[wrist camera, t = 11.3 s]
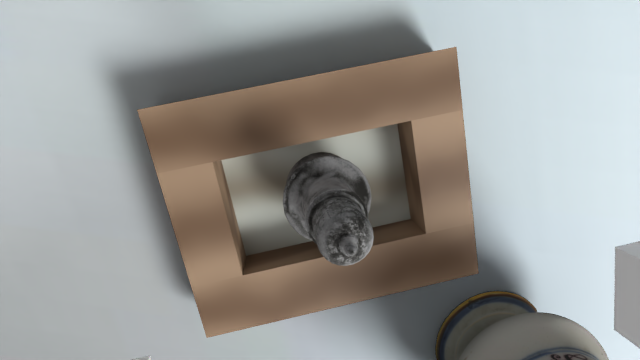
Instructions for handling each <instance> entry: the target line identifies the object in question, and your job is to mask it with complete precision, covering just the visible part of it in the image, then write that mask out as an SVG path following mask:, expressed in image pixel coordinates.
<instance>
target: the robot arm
mask: <svg viewBox="0 0 640 360" xmlns="http://www.w3.org/2000/svg"><path fill="white" fill-rule="evenodd" d="M614 330H615V331H617V332H618V333H619V334H621V335H622V336H623V337H625V338H626V339H628V340H629V341H630V342H632V343H633V344H634V345H636V346H637V347H638V348H640V241H639V242H635V243H630V244H626V245H622V246H618V247H615V300H614ZM132 360H152V359H151V356H150V355H149V356H145V357H141V358H137V359H132Z"/></svg>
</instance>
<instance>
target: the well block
mask: <svg viewBox="0 0 640 360" xmlns="http://www.w3.org/2000/svg"><path fill="white" fill-rule="evenodd" d="M137 111H138V114H139V117H140V121H141V124H142V127H143V130H144V134H145V137H146V140H147V144H148V147H149V150H150V153H151V157H152V160H153V163H154V166H155V170H156V173H157V176H158V180H159V183H160V186H161V189H162V193H163V196H164V199H165V203H166V206H167V209H168V212H169V216H170V219H171V222H172V225H173V229H174V232H175V235H176V239H177V242H178V245H179V248H180V252H181V255H182V258H183V261H184V265H185V268H186V271H187V275H188V278H189V281H190V284H191V288H192V291H193V294H194V297H195V301H196V304H197V307H198V311H199V314H200V317H201V320H202V324H203V327H204V330H205V333H206V337H207V338H208V337H212V336H216V335H221V334H225V333H229V332H233V331H237V330H242V329H246V328H250V327H254V326H259V325H263V324H267V323H271V322H276V321H280V320H284V319H288V318H292V317H297V316H301V315H305V314H309V313H314V312H318V311H322V310H326V309H330V308H335V307H339V306H343V305H347V304H352V303H356V302H360V301H364V300H368V299H373V298H377V297H381V296H385V295H390V294H394V293H398V292H402V291H406V290H411V289H415V288H419V287H423V286H428V285H432V284H436V283H440V282H445V281H449V280H453V279H457V278H461V277H466V276H470V275H474V274H478V273H479V271H478V261H477V251H476V241H475V231H474V221H473V211H472V201H471V190H470V180H469V170H468V160H467V150H466V140H465V130H464V120H463V109H462V99H461V89H460V79H459V69H458V59H457V49H456V47H453V48H448V49H443V50H438V51H433V52H428V53H423V54H418V55H413V56H408V57H403V58H397V59H392V60H387V61H382V62H377V63H372V64H367V65H362V66H357V67H352V68H347V69H342V70H337V71H331V72H326V73H321V74H316V75H311V76H306V77H301V78H296V79H291V80H286V81H281V82H276V83H271V84H265V85H260V86H255V87H250V88H245V89H240V90H235V91H230V92H225V93H220V94H215V95H210V96H204V97H199V98H194V99H189V100H184V101H179V102H174V103H169V104H164V105H159V106H154V107H149V108H144V109H138V110H137ZM318 152H325V153H332V154H334V155H337V156H339V157H341V158H343V159H345V160H348V161H350V162H351V163H353V164H354V165H355V166H357V167H358V168H359V169H360V170H361V171H362V173H363V174H364V175H365V176H366V178H367V181H368V183H369V186H370V189H371V198H372V199H371V205H370V210H369V213H368V220H369V222H370V223H371V226H372V228H373V236H374V239H373V245H372V247H371V249H370V252H369V253H368V254H367V255H366V257H365V258H363V259H362V260H361V261H359V262H357V263H355V264H353V265H348V266H339V265H336V264H332V263H331V262H329V261H328V260H326V259H325V258H324V256H323V255H322V254H321V253H320V251H319V249H318V246H317V244H316V243H314V242H313V240H310V239H307V238H305V237H304V236H302V235H301V234H299V233H298V232H296V231H295V229H294V228H293V227H292V226H291V225H290V224H289V222H288V220H287V218H286V216H285V213H284V208H283V193H284V189H285V186H286V181H287V177H288V175H289V172H290V170H291V169H292V168H293V166H294V165H295V163H297V162H298V161H299V160H300V159H302V158H303V157H305V156H307V155H309V154H312V153H318Z"/></svg>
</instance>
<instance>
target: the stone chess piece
mask: <svg viewBox="0 0 640 360" xmlns="http://www.w3.org/2000/svg"><path fill="white" fill-rule="evenodd" d="M371 199H372V198H371V189H370V186H369V183H368V181H367V178H366V176H365V175H364V174H363V173H362V171H361V170H360V169H359V168H358V167H357V166H355V165H354V164H353V163H351V162H350V161H348V160H345V159H343V158H341V157H339V156H337V155H334V154H332V153H325V152H318V153H312V154H309V155H307V156H305V157H303V158H302V159H300V160H299V161H298V162H297V163H295V165H294V166H293V168H292V169H291V170H290V172H289V175H288V177H287V181H286V186H285V189H284V193H283V208H284V213H285V216H286V218H287V220H288V222H289V224H290V225H291V226H292V227H293V228H294V229H295V231H296V232H298V233H299V234H301V235H302V236H304V237H305V238H307V239H310V240H313V242H314V243H316V244H317V246H318V249H319V251H320V253H321V254H322V255H323V256H324V258H325V259H326V260H328V261H329V262H331V263H332V264H336V265H339V266H348V265H353V264H355V263H357V262H359V261H361V260H362V259H363V258H365V257H366V255H367V254H368V253H369V252H370V249H371V247H372V245H373V239H374V236H373V228H372V226H371V223H370V222H369V220H368V213H369V210H370V205H371Z"/></svg>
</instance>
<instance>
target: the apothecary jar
mask: <svg viewBox="0 0 640 360" xmlns="http://www.w3.org/2000/svg"><path fill="white" fill-rule="evenodd" d="M436 358H437V360H609V359H608V357H607V355H606V353H605V351H604V349H603V347H602V346H601V344H600V343H599V342H598V341H597V339H596V338H595V337H594V336H593V335H592V334H591V333H590V332H589V331H588V330H586V329H585V328H584V327H582V326H581V325H579V324H577V323H576V322H574V321H572V320H570V319H567V318H565V317H562V316H559V315H555V314H550V313H538V312H537V310H536V308H535V307H534V306H533V305H532V304H531V303H530V302H529V301H528V300H526V299H525V298H523V297H521V296H520V295H517V294H513V293H509V292H502V291H493V292H486V293H482V294H479V295H476V296H474V297H471V298H469V299H467V300H466V301H464V302H463V303H461V304H460V305H459V306H457V307H456V308H455V309H454V310H453V311H452V312H451V313H450V314H449V316H448V317H447V318H446V319H445V321H444V323H443V324H442V326H441V328H440V330H439V333H438V336H437V342H436Z"/></svg>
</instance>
